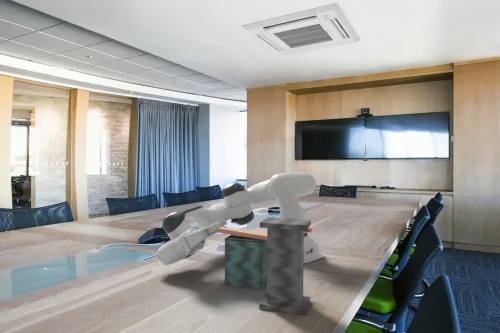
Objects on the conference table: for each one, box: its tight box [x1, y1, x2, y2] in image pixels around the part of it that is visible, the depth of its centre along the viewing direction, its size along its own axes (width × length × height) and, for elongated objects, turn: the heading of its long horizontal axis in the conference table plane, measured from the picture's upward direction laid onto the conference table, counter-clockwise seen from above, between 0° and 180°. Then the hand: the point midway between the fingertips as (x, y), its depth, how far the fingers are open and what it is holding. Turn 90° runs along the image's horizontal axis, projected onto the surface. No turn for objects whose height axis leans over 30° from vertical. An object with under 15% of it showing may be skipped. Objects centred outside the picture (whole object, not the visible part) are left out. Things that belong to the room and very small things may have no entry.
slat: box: [214, 226, 267, 241], centre depth 127 cm, size 26×4×2 cm, turn 70°
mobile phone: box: [215, 242, 225, 252], centre depth 179 cm, size 8×1×15 cm
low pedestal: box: [224, 234, 267, 290], centre depth 128 cm, size 14×10×17 cm
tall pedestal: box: [258, 216, 312, 316], centre depth 108 cm, size 14×10×26 cm
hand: (223, 223), depth 130 cm, fingers closed on slat, 4 cm apart
